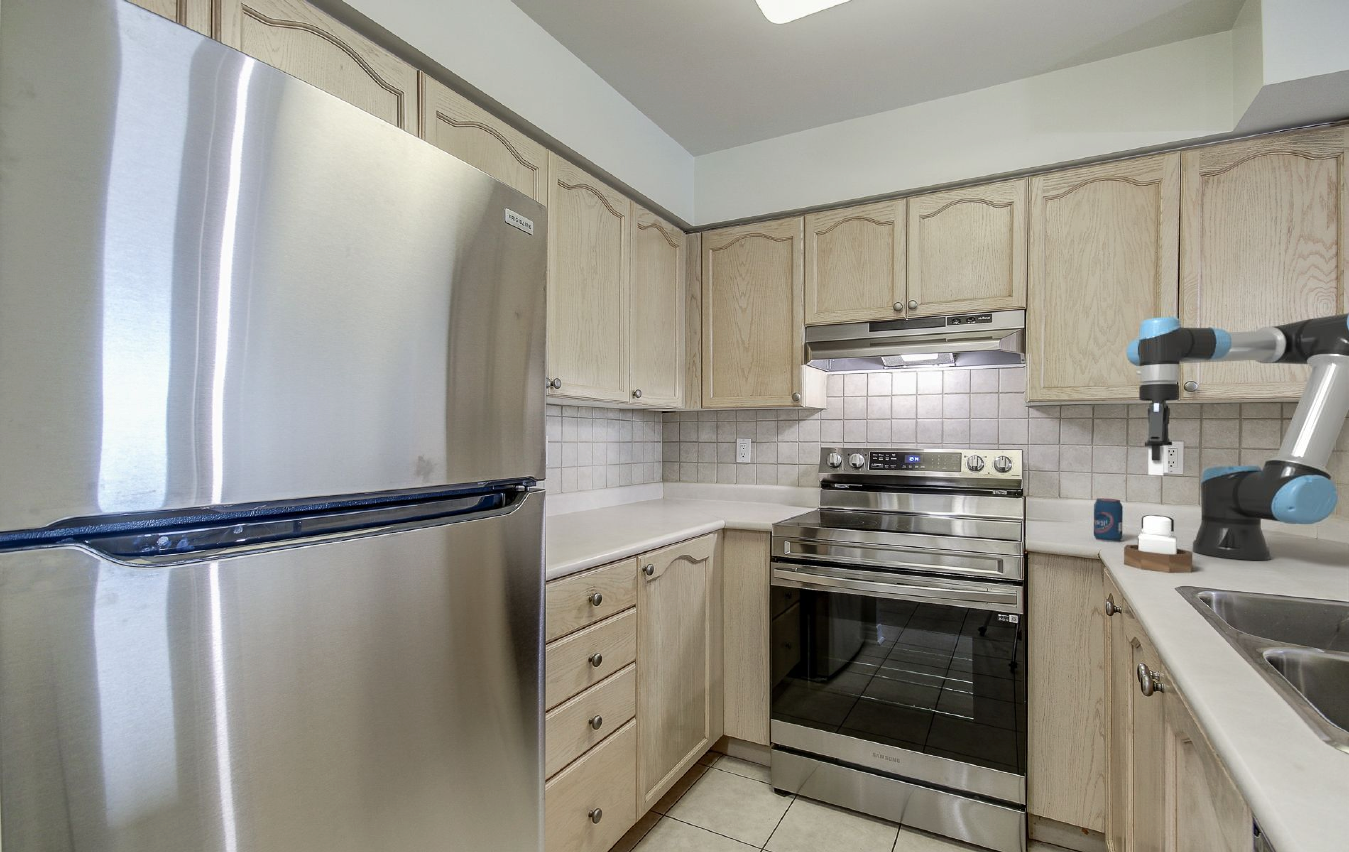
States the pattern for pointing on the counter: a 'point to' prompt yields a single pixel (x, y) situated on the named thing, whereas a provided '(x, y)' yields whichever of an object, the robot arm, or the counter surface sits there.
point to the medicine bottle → (1157, 535)
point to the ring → (1158, 560)
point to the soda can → (1108, 520)
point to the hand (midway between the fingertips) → (1158, 473)
